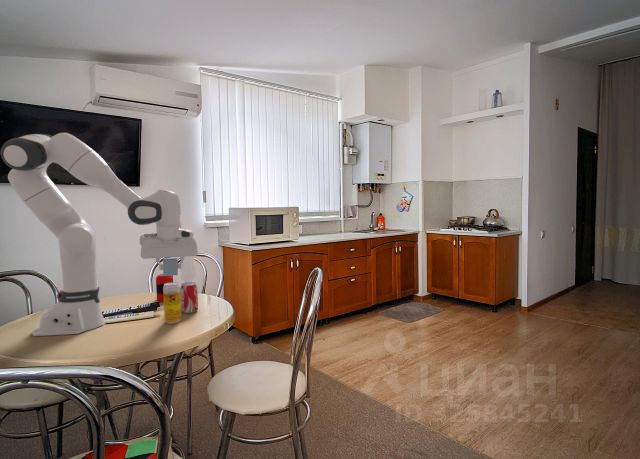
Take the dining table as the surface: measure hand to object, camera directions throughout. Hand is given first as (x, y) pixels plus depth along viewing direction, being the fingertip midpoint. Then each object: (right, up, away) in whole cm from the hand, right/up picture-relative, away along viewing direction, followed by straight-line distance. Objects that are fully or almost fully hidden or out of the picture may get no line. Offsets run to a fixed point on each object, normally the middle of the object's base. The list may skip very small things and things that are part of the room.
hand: (170, 268), depth 145 cm
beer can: (0, -21, +2) cm, 21 cm away
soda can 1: (-16, -19, +35) cm, 43 cm away
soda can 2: (+2, -20, +15) cm, 25 cm away
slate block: (0, -2, 0) cm, 2 cm away
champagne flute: (-1, -19, +25) cm, 32 cm away
